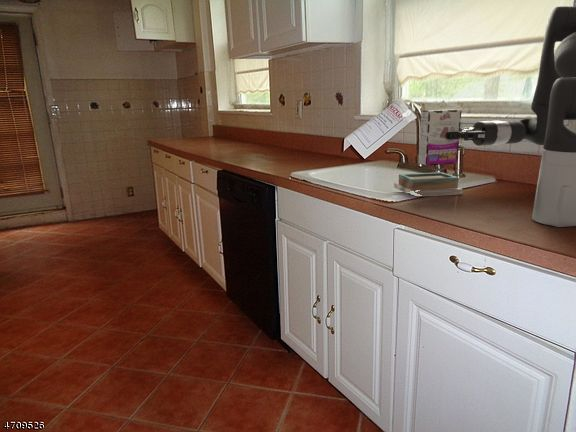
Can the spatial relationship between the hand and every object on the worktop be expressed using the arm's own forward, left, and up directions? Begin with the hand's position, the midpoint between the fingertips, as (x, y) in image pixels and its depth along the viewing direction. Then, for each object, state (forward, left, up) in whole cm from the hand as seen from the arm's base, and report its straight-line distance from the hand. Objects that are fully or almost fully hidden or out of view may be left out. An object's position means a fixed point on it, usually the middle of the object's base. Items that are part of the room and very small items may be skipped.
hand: (441, 134), depth 131 cm
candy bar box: (0, +1, -9) cm, 9 cm away
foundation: (+1, +3, -18) cm, 18 cm away
